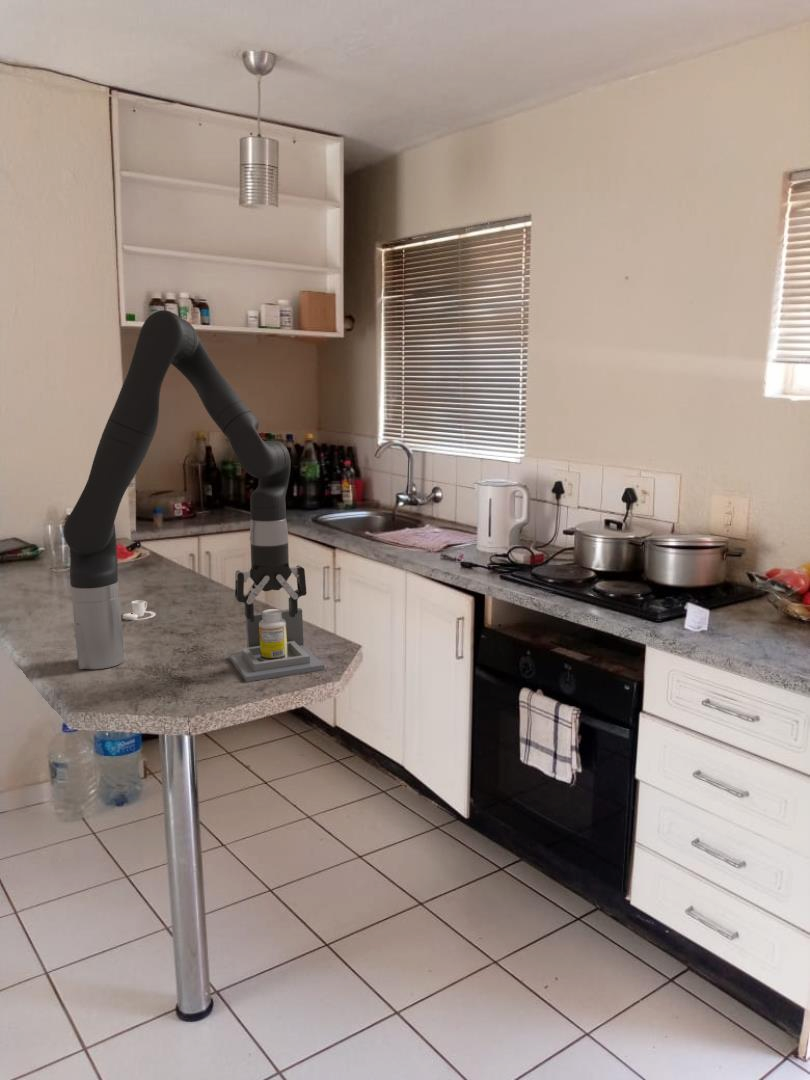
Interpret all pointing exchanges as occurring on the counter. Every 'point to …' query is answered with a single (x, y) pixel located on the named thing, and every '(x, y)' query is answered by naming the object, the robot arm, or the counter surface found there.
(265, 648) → the supplement bottle
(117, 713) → the counter surface
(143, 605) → the teacup and saucer
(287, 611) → the charging dock
